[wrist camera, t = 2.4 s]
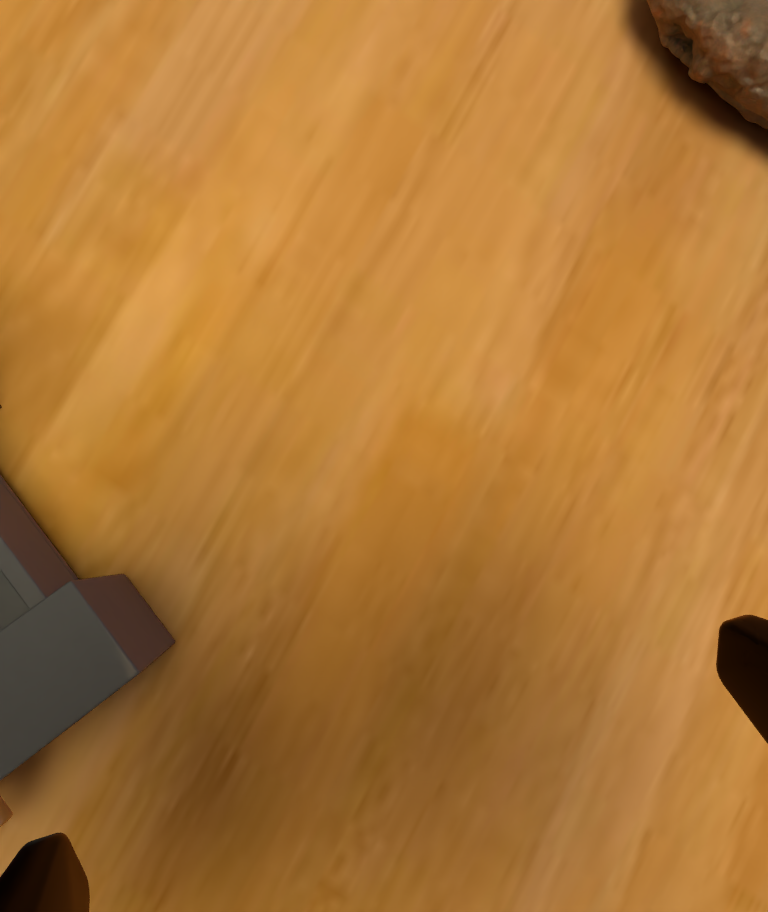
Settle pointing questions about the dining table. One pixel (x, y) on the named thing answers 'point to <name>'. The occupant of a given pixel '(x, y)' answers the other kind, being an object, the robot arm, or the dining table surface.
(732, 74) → the elongated rock
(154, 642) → the drawer
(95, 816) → the dining table surface
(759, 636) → the robot arm
